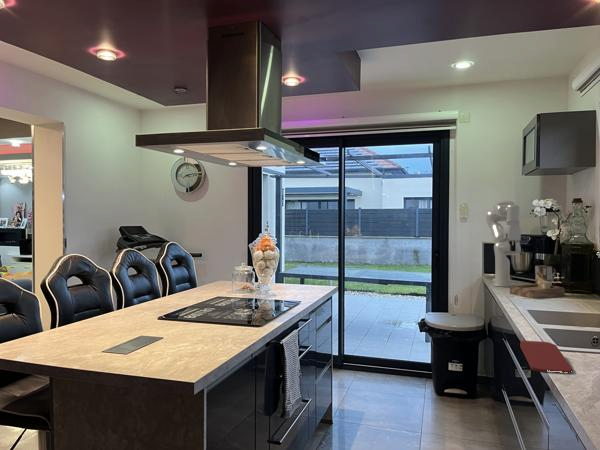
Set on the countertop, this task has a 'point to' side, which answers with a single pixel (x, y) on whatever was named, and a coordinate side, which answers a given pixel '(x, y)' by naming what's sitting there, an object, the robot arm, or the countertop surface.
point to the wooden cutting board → (536, 291)
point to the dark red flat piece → (544, 356)
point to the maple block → (544, 284)
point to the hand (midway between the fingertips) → (512, 251)
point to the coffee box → (543, 273)
